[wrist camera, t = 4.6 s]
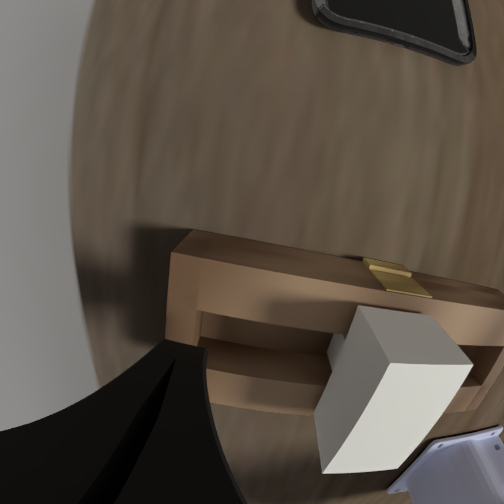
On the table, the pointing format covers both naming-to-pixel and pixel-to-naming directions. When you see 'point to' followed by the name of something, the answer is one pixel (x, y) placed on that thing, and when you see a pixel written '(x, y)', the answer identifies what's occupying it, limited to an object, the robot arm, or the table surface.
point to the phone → (406, 24)
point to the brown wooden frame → (309, 318)
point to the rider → (385, 389)
